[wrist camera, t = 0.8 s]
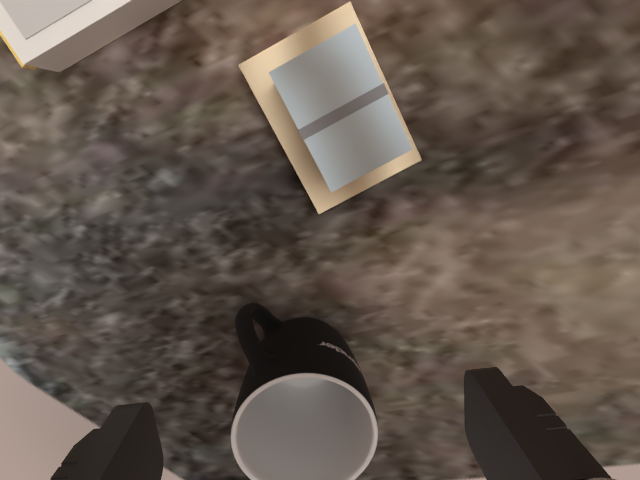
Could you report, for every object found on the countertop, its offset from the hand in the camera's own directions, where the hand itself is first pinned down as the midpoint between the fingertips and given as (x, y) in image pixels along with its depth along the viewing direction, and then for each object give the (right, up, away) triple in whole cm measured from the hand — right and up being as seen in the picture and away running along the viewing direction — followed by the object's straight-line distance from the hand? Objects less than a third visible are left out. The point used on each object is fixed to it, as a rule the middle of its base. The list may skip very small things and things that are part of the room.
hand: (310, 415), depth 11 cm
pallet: (+1, +13, +20) cm, 24 cm away
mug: (-2, -4, +24) cm, 25 cm away
